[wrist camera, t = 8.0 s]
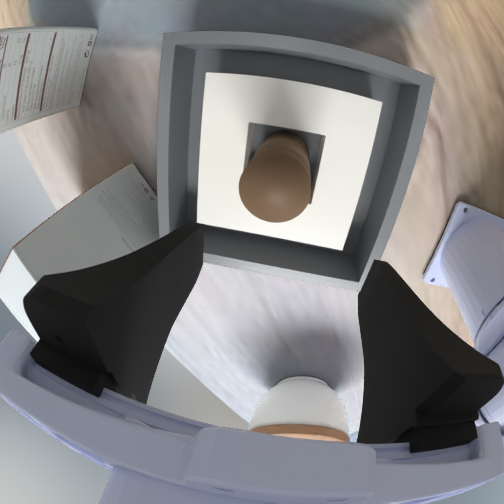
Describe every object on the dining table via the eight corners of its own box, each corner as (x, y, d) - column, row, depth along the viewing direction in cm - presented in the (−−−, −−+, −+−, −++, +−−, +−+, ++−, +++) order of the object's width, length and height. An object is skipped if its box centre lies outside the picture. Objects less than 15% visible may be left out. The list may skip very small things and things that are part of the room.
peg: (312, 135, 17) (318, 164, 11) (303, 180, 19) (302, 229, 13) (264, 126, 17) (243, 149, 11) (257, 170, 19) (234, 215, 13)
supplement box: (34, 98, 18) (-70, 140, 7) (49, 28, 14) (-63, 45, 3) (81, 109, 18) (-42, 159, 8) (102, 28, 14) (-33, 32, 4)
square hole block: (409, 77, 14) (434, 77, 10) (358, 260, 22) (365, 292, 19) (189, 40, 15) (163, 33, 12) (180, 226, 23) (160, 252, 20)
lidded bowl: (298, 350, 30) (289, 443, 21) (367, 385, 32) (370, 460, 23) (238, 387, 36) (221, 457, 27) (304, 414, 39) (298, 476, 30)
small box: (133, 159, 21) (10, 246, 10) (176, 221, 23) (89, 339, 12) (84, 205, 24) (-10, 288, 13) (121, 254, 26) (45, 351, 16)
